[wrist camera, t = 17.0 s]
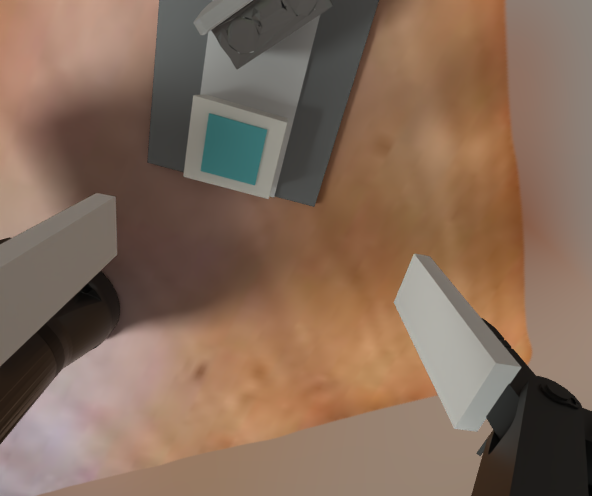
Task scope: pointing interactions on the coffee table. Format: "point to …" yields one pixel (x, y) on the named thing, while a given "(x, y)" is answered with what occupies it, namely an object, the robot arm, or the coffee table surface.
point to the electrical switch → (255, 24)
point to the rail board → (254, 101)
